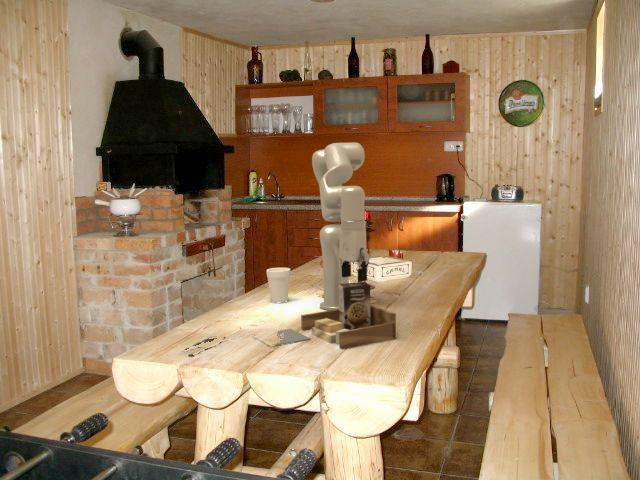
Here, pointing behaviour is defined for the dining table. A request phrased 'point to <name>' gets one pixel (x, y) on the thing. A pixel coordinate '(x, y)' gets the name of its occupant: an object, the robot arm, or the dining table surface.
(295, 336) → the mat
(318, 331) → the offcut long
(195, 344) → the driftwood
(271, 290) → the foam cup
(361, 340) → the rack
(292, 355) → the dining table surface
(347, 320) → the coffee box
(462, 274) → the dining table surface
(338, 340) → the offcut cube
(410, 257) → the dining table surface
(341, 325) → the offcut short
